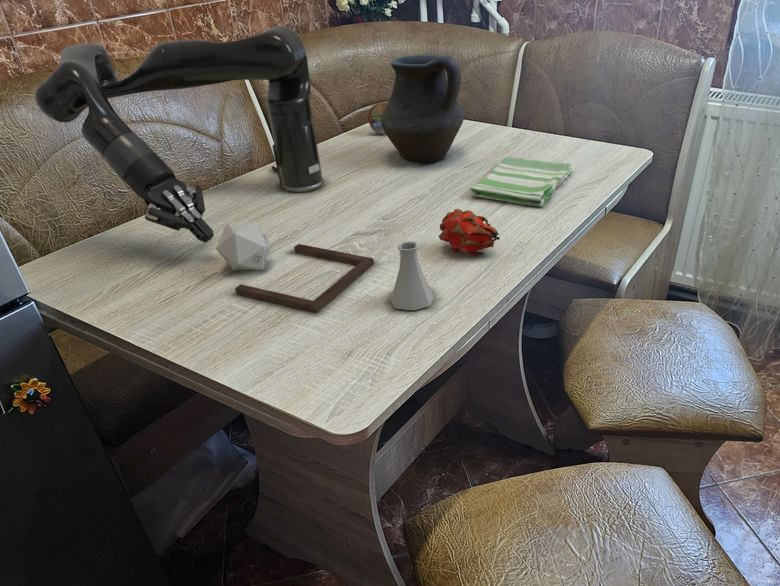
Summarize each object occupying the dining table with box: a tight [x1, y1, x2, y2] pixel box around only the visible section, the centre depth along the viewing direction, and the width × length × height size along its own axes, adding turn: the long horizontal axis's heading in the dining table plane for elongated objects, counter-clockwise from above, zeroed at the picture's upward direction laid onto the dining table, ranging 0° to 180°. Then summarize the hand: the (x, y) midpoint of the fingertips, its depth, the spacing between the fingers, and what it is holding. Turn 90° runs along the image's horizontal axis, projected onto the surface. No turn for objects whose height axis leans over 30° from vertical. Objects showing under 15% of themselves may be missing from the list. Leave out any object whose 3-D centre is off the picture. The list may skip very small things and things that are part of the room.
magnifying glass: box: [367, 101, 388, 136], centre depth 178 cm, size 15×3×8 cm, turn 118°
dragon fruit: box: [438, 208, 501, 257], centre depth 116 cm, size 8×8×12 cm
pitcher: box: [381, 54, 465, 164], centre depth 154 cm, size 21×22×25 cm
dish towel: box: [469, 157, 573, 208], centre depth 144 cm, size 18×23×3 cm
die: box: [215, 221, 274, 272], centre depth 113 cm, size 8×9×10 cm
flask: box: [390, 240, 435, 311], centre depth 101 cm, size 7×7×10 cm
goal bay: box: [234, 243, 375, 314], centre depth 111 cm, size 16×18×1 cm
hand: (209, 238), depth 116 cm, fingers closed
